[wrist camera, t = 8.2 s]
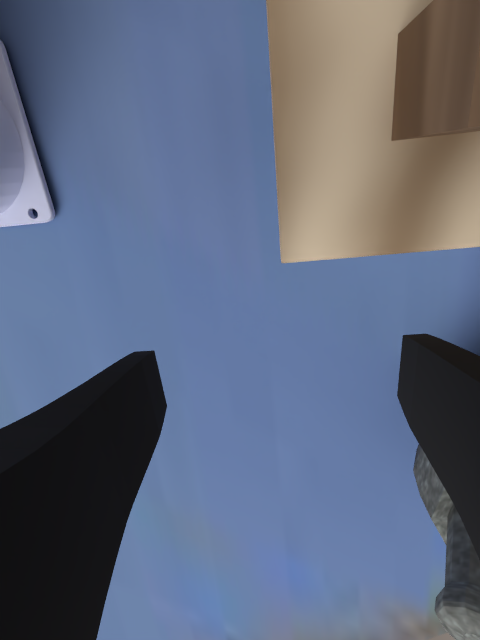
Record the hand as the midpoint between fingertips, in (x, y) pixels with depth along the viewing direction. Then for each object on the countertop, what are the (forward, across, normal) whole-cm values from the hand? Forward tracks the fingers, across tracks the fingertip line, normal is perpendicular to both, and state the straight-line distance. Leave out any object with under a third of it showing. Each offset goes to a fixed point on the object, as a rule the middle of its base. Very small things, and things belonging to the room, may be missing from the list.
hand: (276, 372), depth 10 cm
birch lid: (+6, -6, -7) cm, 11 cm away
